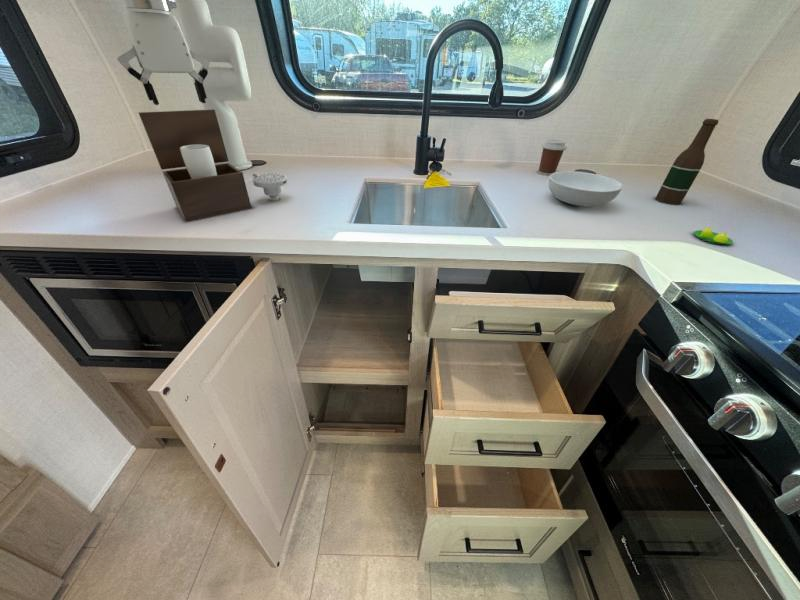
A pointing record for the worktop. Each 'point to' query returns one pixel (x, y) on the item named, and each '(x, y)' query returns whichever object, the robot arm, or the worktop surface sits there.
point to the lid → (182, 134)
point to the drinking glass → (198, 160)
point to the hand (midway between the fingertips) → (180, 103)
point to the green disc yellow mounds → (713, 236)
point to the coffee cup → (551, 156)
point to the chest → (208, 192)
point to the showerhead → (270, 184)
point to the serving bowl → (583, 188)
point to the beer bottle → (686, 167)
